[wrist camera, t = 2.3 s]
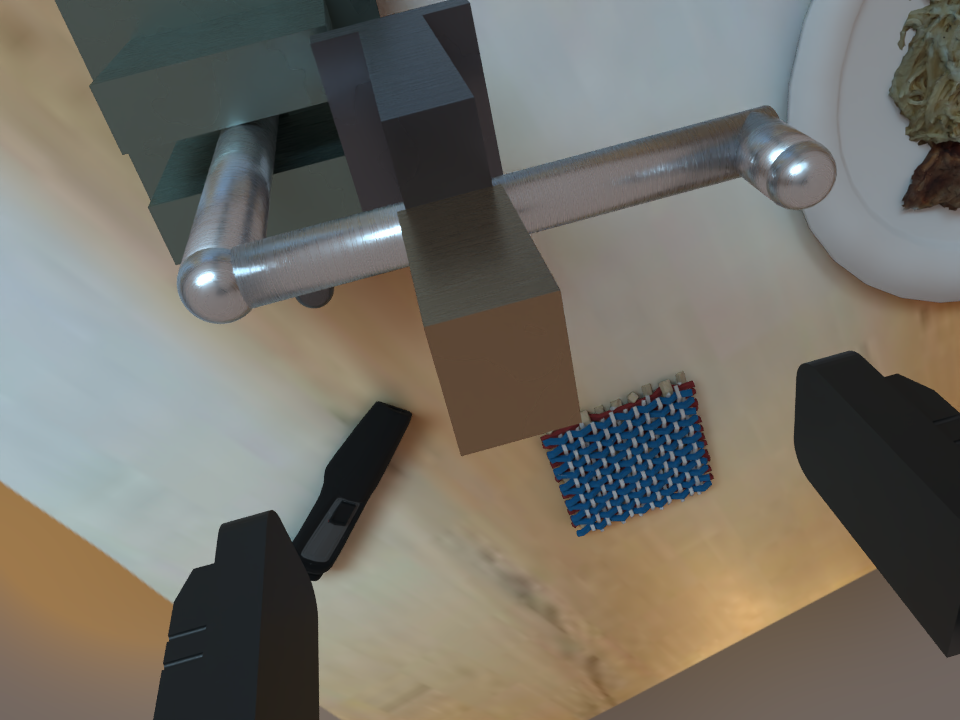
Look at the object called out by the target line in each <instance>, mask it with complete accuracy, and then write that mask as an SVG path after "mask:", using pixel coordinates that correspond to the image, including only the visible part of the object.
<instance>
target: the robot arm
mask: <svg viewBox="0 0 960 720" xmlns="http://www.w3.org/2000/svg"><path fill="white" fill-rule="evenodd" d="M794 446H795V451H796V455H797V458H798V461H799V464H800V466H801V468H802V470H803V472H804V474H805V476H806V477H807V479H808V480H809V482H810V483H811V484H812V486H813V487H814V488H815V489H816V491H817V492H818V493H819V494H820V496H821V497H822V498H823V500H824V501H825V502H826V503H827V505H828V506H829V507H830V509H831V510H832V511H833V512H834V514H835V515H836V516H837V518H838V519H839V520H840V521H841V523H842V524H843V525H844V527H845V528H846V529H847V530H848V532H849V533H850V534H851V536H852V537H853V538H854V539H855V541H856V542H857V543H858V544H859V546H860V547H861V548H862V550H863V551H864V552H865V553H866V555H867V556H868V557H869V559H870V560H871V561H872V562H873V564H874V565H875V566H876V568H877V569H878V570H879V571H880V573H881V574H882V575H883V576H884V578H885V579H886V580H887V582H888V583H889V584H890V585H891V587H892V588H893V589H894V590H895V592H896V593H897V594H898V596H899V597H900V598H901V600H902V601H903V602H904V603H905V605H906V606H907V607H908V608H909V610H910V611H911V612H912V614H913V615H914V616H915V618H916V619H917V620H918V621H919V622H920V624H921V625H922V626H923V628H924V629H925V630H926V632H927V633H928V634H929V635H930V637H931V638H932V639H933V641H934V642H935V643H936V644H937V646H938V647H939V648H940V650H941V651H942V652H943V653H944V654H945V656H946V657H951V656H954V655H958V654H960V413H959V412H958V411H957V410H956V409H955V408H954V407H952V406H951V405H950V404H949V403H948V402H947V401H946V400H944V399H943V398H942V397H941V396H940V395H939V394H938V393H937V392H935V391H934V390H932V389H930V388H928V387H926V386H924V385H921V384H919V383H917V382H915V381H913V380H910V379H908V378H906V377H904V376H902V375H900V374H894V375H891V376H887V377H884V376H883V375H881V374H880V373H879V372H878V371H877V370H876V369H875V368H874V367H873V366H872V365H871V364H870V363H869V362H868V361H867V360H865V359H864V358H863V357H862V356H861V355H860V354H858V353H857V352H854V351H847V352H843V353H839V354H836V355H832V356H829V357H825V358H821V359H818V360H814V361H811V362H807V363H804V364H801V365H800V366H799V368H798V371H797V377H796V400H795V424H794ZM168 637H169V642H167V644H166V650H165V656H164V662H163V664H164V670H162V673H161V678H160V684H159V690H158V695H157V701H156V707H155V712H154V719H153V720H319V659H318V611H317V604H316V598H315V594H314V590H313V586H312V583H311V580H310V578H309V575H308V573H307V571H306V569H305V567H304V565H303V563H302V561H301V559H300V557H299V555H298V553H297V551H296V549H295V547H294V545H293V543H292V541H291V539H290V537H289V535H288V533H287V531H286V529H285V527H284V525H283V523H282V521H281V519H280V518H279V516H278V514H277V513H276V512H275V511H273V510H270V511H266V512H263V513H259V514H255V515H252V516H248V517H245V518H241V519H237V520H234V521H230V522H227V523H223V524H222V525H221V526H220V529H219V533H218V540H217V547H216V555H215V563H213V564H210V565H206V566H203V567H199V568H196V569H193V570H192V572H191V574H190V576H189V577H188V579H187V581H186V582H185V584H184V586H183V588H182V589H181V591H180V593H179V594H178V596H177V598H176V599H175V601H174V605H173V610H172V616H171V622H170V627H169V633H168Z"/></svg>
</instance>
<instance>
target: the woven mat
mask: <svg viewBox="0 0 960 720" xmlns="http://www.w3.org/2000/svg"><path fill="white" fill-rule="evenodd" d="M676 382H677V385H673V384H671V383H670V381H669V380H666V381H663V382H661V383H659V386H660V387H658V388H657V390H656V391H655V392H654V393H653V391H652V387H651V384H647V385H644V386H642V391H643V394H644V398H641V399H638V398H639V396H637V395H636V394H635V393H633V392H632V393H630V394H629V395H628V396H627V398H628V404H625V405H622V404H621V401H620V399H617V400H615V401H612V402H611V407H610V410H609V411H606V412H604V409H603V406H602V405H601V406H599V407H596V408H594V409H595V413H596V414H588V412H587V410H586V411H583V412H580V413H581V419H582V423H579V424H576V425H572V426H568V427H565V428H561V429H559V430H554V431H550V432H547V433H546V434H547V435H545V436H542V437H540V438H541V440H542V443H543V444H542V446H543V449H551V448H552V451H549V452H547V456H548V459H549V460H550V464H551V467H552V469H553V468H554V469H553V472H554V475H555V480H556V481H557V482H558V483H559V482H560V481H561V480H562V479H563V481H564V484H562V485H560V486H559V488H560V491H561V493H562V497H563V499H565V498H569V497H570V499H569V500H566V501H565V504H566V506H567V508H568V509H567V511H568V513H569V515H571V514H573V513H575V514H576V515H571V516H570V518H571V521H572V523H571V524H572V526H573V527H574V528H576V527H577V526H578V525H580V526H581V528H582V529H581V530H577V536H578V537H580V536H584V535H585V534H587V533H588V532H589V531H590V530H592V531H596V529H600V530H601V531H604V527H605V526H606V525H607V524H608V525H611V521H612V522H613V521H621V522H622V524H624V523H626V522H625V520H626V519H627V518H628V517H629V515H630V516H631V518H632V517H633V516H634V514H639V516H643V513H646V512H647V511H648V510H649V509H650V508H651V510H654V509H655V507H660V510H662V509H664V507H663V506H664V505H665V504H666V503H667V502H668V505H669V504H670V503H671V501H672V500H671V499H681V502H683V501H685V500H684V499H685V498H686V497H687V495H688V494H689V493H690V496H693V494H694V492H698V495H699V494H701V492H702V491H706V490H707V489H708V488H709V487H710V486H711V485H712V483H711V481H710V480H712V479H714V478H713V475H712V474H711V473H709V474H706V475H705V473H707V472H709V471H712V470H711V467H710V465H706V464H707V462H708V461H710V455H708V451H707V450H706V449H702V448H703V447H704V446H705V445H707V441H706V440H703V439H705V436H704V434H703V433H701V431H704V430H703V426H702V425H699V424H698V423H700V422H702V420H701V417H700V416H698V415H696V411H697V410H698V401H697V399H696V398H695V399H694V397H691V396H693V395H694V394H696V390H695V389H694V388H692V387H695V385H694V382H693V381H689V382H686V379H685V374H684V371H682V372H680V373H677V374H676ZM689 388H691V389H689ZM673 391H675V392H673ZM660 396H661V397H660ZM675 412H676V413H675ZM679 419H680V420H679ZM591 421H598V422H591ZM644 423H646V424H644ZM616 424H617V426H616ZM612 425H613V427H610V426H612ZM579 426H580V428H581V429H579ZM666 426H667V427H666ZM632 429H633V430H632ZM575 430H576V431H575ZM597 432H598V434H597ZM563 435H564V436H563ZM558 437H559V438H558ZM699 440H702V441H699ZM685 444H688V445H687V446H685ZM684 446H685V447H684ZM700 448H701V449H700ZM619 450H620V452H619V453H618V451H619ZM688 453H689V454H688ZM607 455H608V456H607ZM573 458H575V460H573ZM626 459H627V460H626ZM591 463H593V464H592V465H591ZM557 466H558V468H555V467H557ZM662 468H663V471H664V473H663V471H662ZM622 469H623V470H622ZM691 469H692V470H691ZM612 472H614V473H612ZM658 472H659V474H657V473H658ZM678 474H680V475H679V476H678ZM579 475H581V476H579ZM596 475H597V477H598V480H596V477H595V476H596ZM631 475H632V476H631ZM625 476H627V477H625ZM673 476H674V477H673ZM646 478H648V479H646ZM614 481H615V482H614ZM613 482H614V483H613ZM703 482H705V483H704V484H703ZM581 484H582V485H581ZM699 484H700V485H699ZM580 485H581V486H580ZM627 485H628V486H627ZM684 489H685V490H684ZM682 490H684V491H683V492H682ZM674 492H678V493H674ZM646 494H647V495H646ZM656 500H657V501H656ZM622 503H623V504H622ZM591 505H592V507H590V506H591ZM640 505H641V506H642V507H640ZM635 507H637V508H635ZM606 509H608V511H607V510H606ZM622 512H624V513H622ZM601 519H603V520H602V522H601ZM595 521H597V522H595Z"/></svg>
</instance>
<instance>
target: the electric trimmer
mask: <svg viewBox="0 0 960 720" xmlns="http://www.w3.org/2000/svg"><path fill="white" fill-rule="evenodd" d="M411 417H412V413H411V412H409V411H407V410H403V409H400V408H397V407H394V406H391V405H388V404H385V403H382V402H379V401H378V402H376V403H375V404H374V405H373V406H372V408H371V409H370V410H369V411H368V413H367V414H366V415H365V416H364V417H363V419H362V420H361V421H360V423H359V424H358V425H357V426H356V428H355V429H354V430H353V432H352V433H351V434H350V436H349V437H348V438H347V440H346V441H345V442H344V443H343V445H342V446H341V447H340V449H339V450H338V451H337V453H336V454H335V455H334V457H333V458H332V460H331V461H330V462H329V464H328V465H327V467H326V469H325V475H324V484H323V487H322V490H321V493H320V496H319V498H318V500H317V501H316V503H315V505H314V507H313V508H312V510H311V512H310V514H309V515H308V517H307V519H306V521H305V522H304V524H303V526H302V528H301V529H300V531H299V533H298V534H297V536H296V537H295V539H294V540H293V542H292V543H293V545H294V547H295V549H296V551H297V553H298V555H299V557H300V559H301V561H302V563H303V565H304V567H305V569H306V571H307V573H308V575H309V578H310V580H311V581H317V580H319V579H320V577H321V576H322V575H323V573H325V572H327V571H328V570H329V569H330V568H331V567H332V566H333V564H334V562H335V561H336V559H337V557H338V555H339V554H340V552H341V550H342V548H343V547H344V545H345V543H346V541H347V539H348V537H349V535H350V533H351V531H352V529H353V528H354V526H355V524H356V522H357V520H358V518H359V516H360V514H361V512H362V510H363V508H364V507H365V505H366V503H367V501H368V499H369V498H370V496H371V494H372V493H373V491H374V490H375V488H376V487H377V485H378V483H379V481H380V480H381V478H382V476H383V474H384V472H385V470H386V468H387V466H388V464H389V462H390V460H391V458H392V456H393V454H394V452H395V450H396V449H397V447H398V445H399V443H400V441H401V439H402V437H403V435H404V433H405V431H406V429H407V427H408V425H409V423H410V420H411Z"/></svg>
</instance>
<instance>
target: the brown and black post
mask: <svg viewBox="0 0 960 720" xmlns="http://www.w3.org/2000/svg"><path fill="white" fill-rule="evenodd" d="M310 45H311V48H312V51H313V55H314V58H315V61H316V64H317V67H318V71H319V74H320V77H321V80H322V83H323V87H324V90H325V93H326V96H327V99H328V103H329V106H330V109H331V112H332V115H333V119H334V122H335V125H336V128H337V131H338V135H339V138H340V141H341V144H342V147H343V151H344V154H345V157H346V160H347V163H348V167H349V170H350V173H351V176H352V179H353V182H354V186H355V189H356V192H357V195H358V198H359V202H360V205H361V208H362V211H363V212H365V211H369V210H373V209H376V208H380V207H384V206H388V205H392V204H395V203H399V202H404V206H405V210H401V211H398V212H397V215H398V219H399V223H400V228H401V232H402V236H403V241H404V245H405V249H406V253H407V258H408V262H409V266H410V270H411V275H412V279H413V283H414V288H415V292H416V296H417V300H418V305H419V309H420V313H421V317H422V322H423V326H424V330H425V333H426V337H427V340H428V343H429V347H430V350H431V354H432V357H433V361H434V364H435V368H436V371H437V374H438V378H439V381H440V385H441V388H442V392H443V395H444V398H445V402H446V405H447V409H448V412H449V416H450V419H451V423H452V426H453V429H454V433H455V436H456V440H457V443H458V447H459V450H460V454H461V456H464V455H468V454H471V453H475V452H478V451H482V450H486V449H489V448H493V447H496V446H500V445H504V444H507V443H511V442H514V441H518V440H522V439H525V438H529V437H532V436H536V435H540V434H543V433H547V432H550V431H554V430H558V429H561V428H565V427H568V426H572V425H576V424H579V423H582V419H581V413H580V407H579V401H578V395H577V389H576V383H575V377H574V371H573V365H572V358H571V352H570V346H569V340H568V334H567V328H566V322H565V316H564V310H563V303H562V297H561V291H560V289H559V287H558V285H557V283H556V282H555V280H554V278H553V276H552V274H551V273H550V271H549V269H548V267H547V265H546V264H545V262H544V260H543V258H542V256H541V254H540V253H539V251H538V249H537V247H536V245H535V244H534V242H533V240H532V238H531V236H530V235H529V233H528V231H527V229H526V227H525V226H524V224H523V222H522V220H521V218H520V217H519V215H518V213H517V211H516V209H515V208H514V206H513V204H512V202H511V200H510V199H509V197H508V195H507V193H506V191H505V190H504V188H503V186H502V184H499V185H495V186H493V185H492V181H491V178H493V177H497V176H501V175H503V171H502V166H501V161H500V156H499V151H498V145H497V140H496V135H495V130H494V125H493V120H492V114H491V109H490V104H489V99H488V94H487V89H486V83H485V78H484V73H483V68H482V63H481V58H480V52H479V47H478V42H477V37H476V32H475V27H474V22H473V16H472V11H471V6H470V2H469V1H468V0H447V1H444V2H440V3H436V4H432V5H428V6H424V7H420V8H416V9H412V10H408V11H405V12H401V13H397V14H393V15H389V16H385V17H381V18H377V19H373V20H370V21H366V22H362V23H358V24H354V25H350V26H346V27H342V28H338V29H334V30H331V31H327V32H323V33H319V34H315V35H311V36H310Z"/></svg>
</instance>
